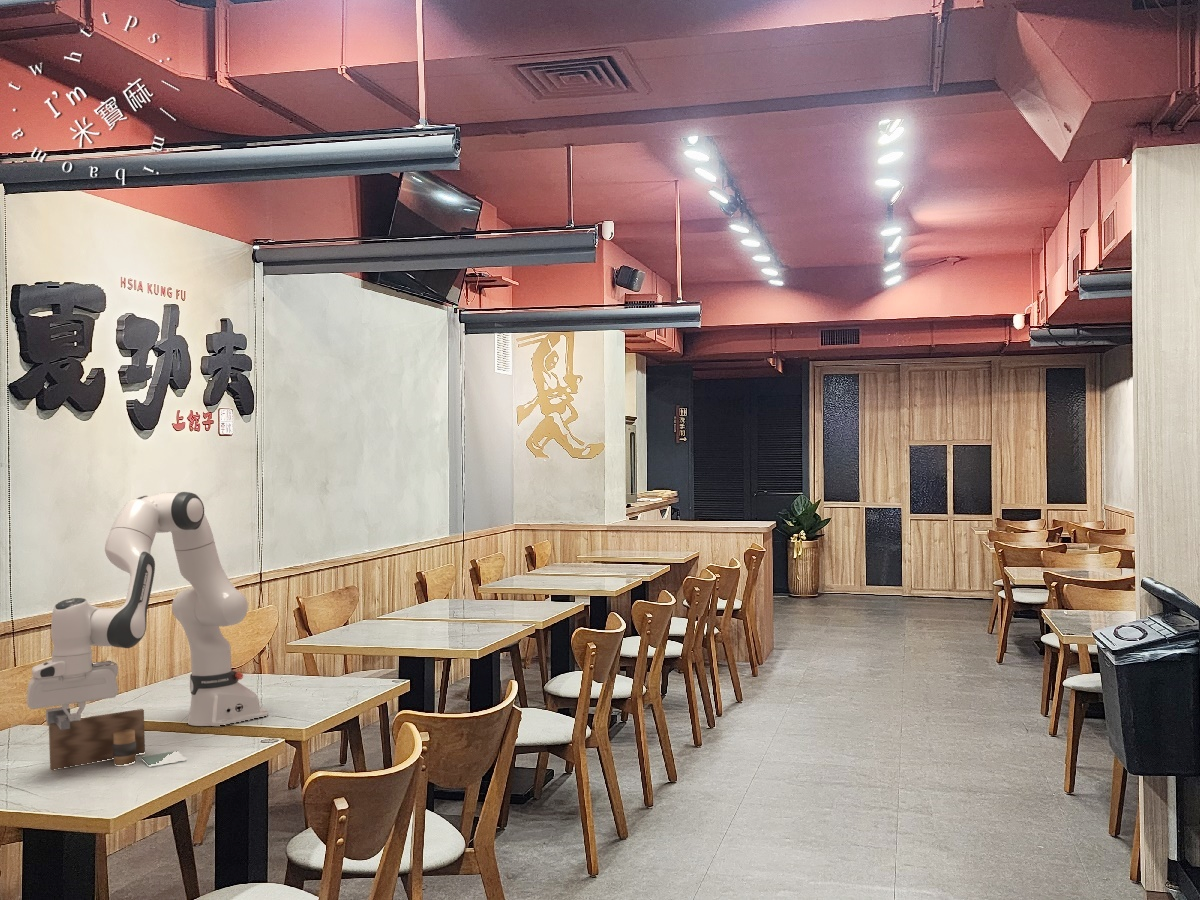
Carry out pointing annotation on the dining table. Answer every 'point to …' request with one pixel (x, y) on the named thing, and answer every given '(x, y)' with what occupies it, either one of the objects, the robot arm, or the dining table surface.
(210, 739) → the dining table surface
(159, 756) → the mat
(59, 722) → the clamp bar
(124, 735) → the spool
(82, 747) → the board
